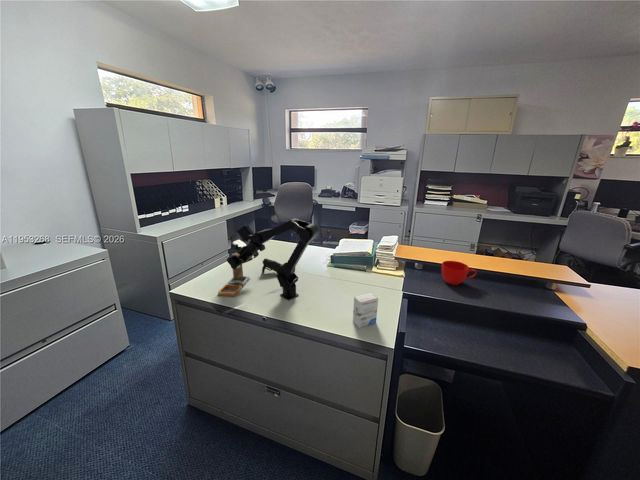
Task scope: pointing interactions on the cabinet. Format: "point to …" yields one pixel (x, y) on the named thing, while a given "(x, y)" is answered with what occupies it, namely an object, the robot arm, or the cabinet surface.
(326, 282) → the cabinet surface
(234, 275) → the post
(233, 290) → the tray
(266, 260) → the gun
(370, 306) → the ink box
